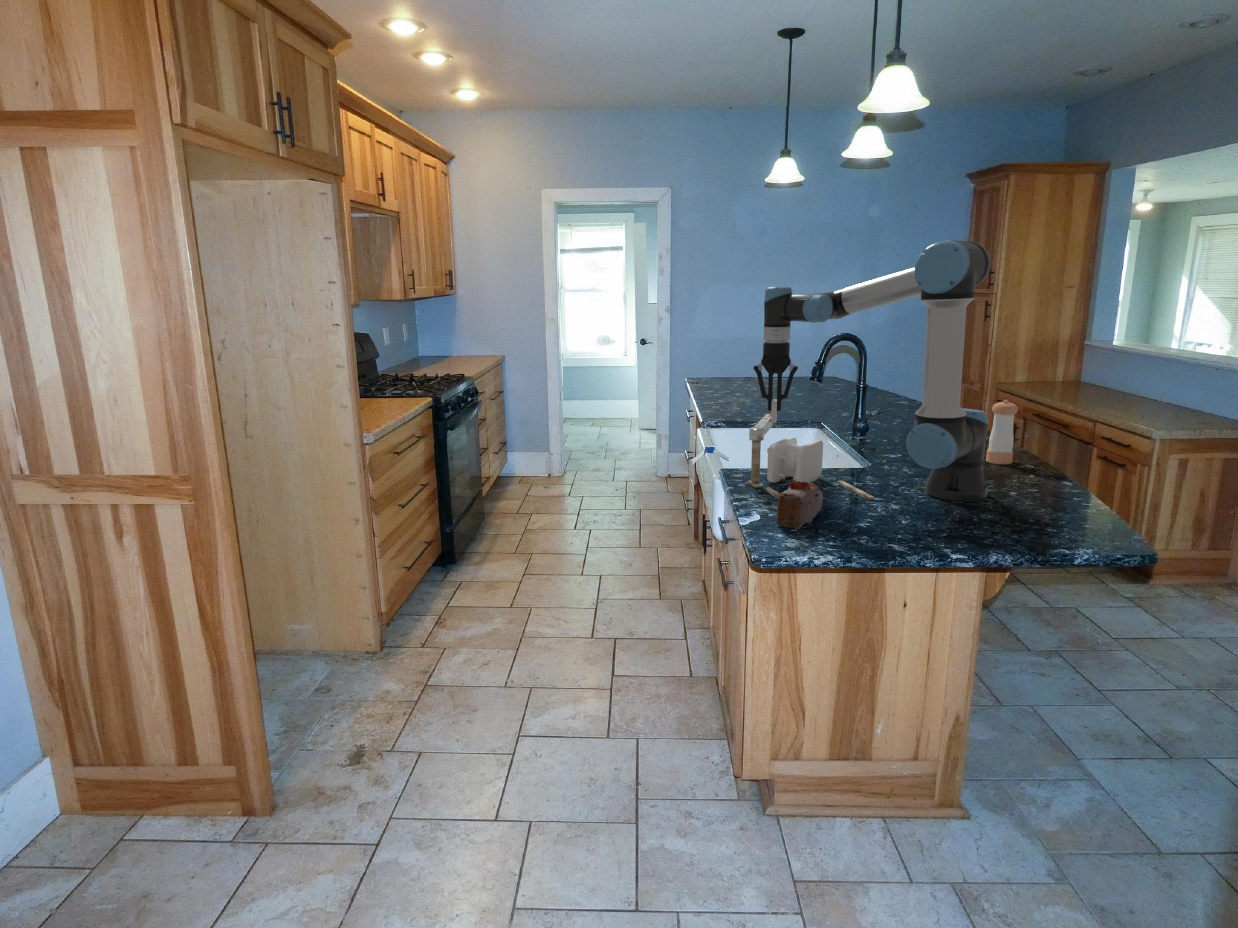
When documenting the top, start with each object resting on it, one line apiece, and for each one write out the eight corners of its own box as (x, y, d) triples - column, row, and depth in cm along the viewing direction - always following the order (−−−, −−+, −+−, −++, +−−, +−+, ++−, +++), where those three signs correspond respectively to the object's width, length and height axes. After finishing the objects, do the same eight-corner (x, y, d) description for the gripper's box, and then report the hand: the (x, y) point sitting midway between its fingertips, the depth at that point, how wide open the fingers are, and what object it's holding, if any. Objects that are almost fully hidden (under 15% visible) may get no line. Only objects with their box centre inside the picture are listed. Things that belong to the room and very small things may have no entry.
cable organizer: (799, 490, 202) (801, 449, 199) (764, 484, 208) (766, 444, 205) (822, 478, 213) (824, 439, 210) (788, 472, 219) (790, 434, 216)
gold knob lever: (776, 424, 223) (777, 414, 222) (762, 441, 202) (762, 430, 201) (763, 423, 225) (763, 413, 224) (747, 440, 203) (748, 429, 203)
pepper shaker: (1016, 464, 223) (1024, 402, 218) (992, 464, 223) (999, 402, 218) (1005, 458, 230) (1012, 397, 225) (981, 458, 230) (988, 398, 225)
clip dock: (873, 499, 193) (876, 452, 189) (786, 508, 187) (788, 460, 184) (826, 475, 216) (828, 432, 212) (747, 482, 210) (748, 439, 207)
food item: (792, 509, 186) (794, 472, 184) (823, 514, 182) (826, 476, 180) (773, 526, 175) (774, 486, 173) (806, 531, 171) (807, 491, 169)
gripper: (752, 342, 210) (750, 423, 216) (799, 343, 207) (795, 425, 213) (755, 340, 217) (753, 418, 223) (800, 340, 213) (796, 419, 220)
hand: (773, 421), depth 218 cm, fingers closed
